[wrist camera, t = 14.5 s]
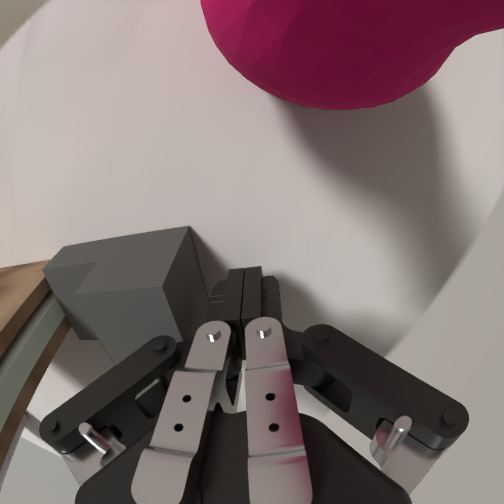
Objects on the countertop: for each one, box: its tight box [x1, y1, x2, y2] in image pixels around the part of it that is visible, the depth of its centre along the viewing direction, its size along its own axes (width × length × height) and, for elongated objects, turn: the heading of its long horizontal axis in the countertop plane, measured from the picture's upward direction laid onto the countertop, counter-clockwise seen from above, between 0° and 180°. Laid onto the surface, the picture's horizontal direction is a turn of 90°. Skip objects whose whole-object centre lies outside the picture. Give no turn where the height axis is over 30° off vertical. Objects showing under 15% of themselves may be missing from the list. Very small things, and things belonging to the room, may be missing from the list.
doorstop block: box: [42, 226, 210, 366], centre depth 14 cm, size 8×5×5 cm, turn 98°
